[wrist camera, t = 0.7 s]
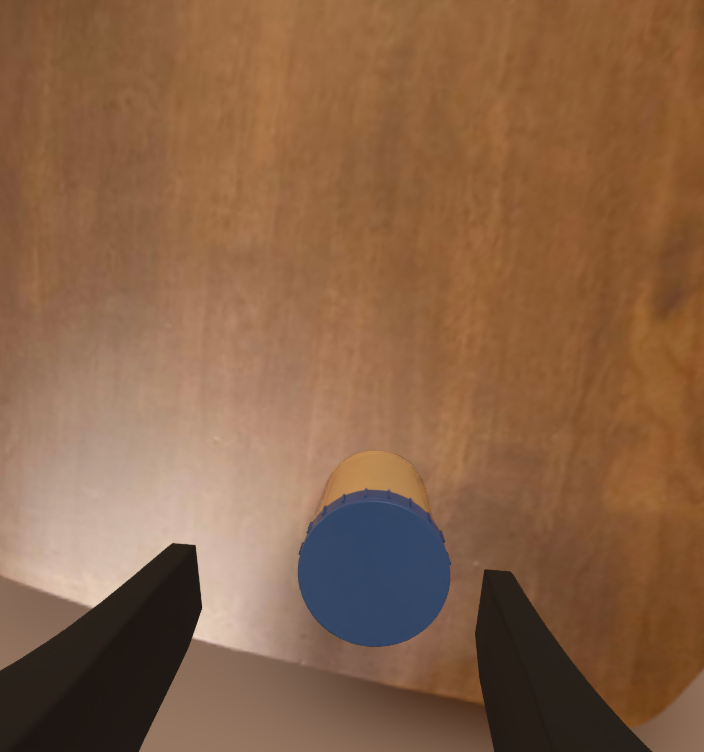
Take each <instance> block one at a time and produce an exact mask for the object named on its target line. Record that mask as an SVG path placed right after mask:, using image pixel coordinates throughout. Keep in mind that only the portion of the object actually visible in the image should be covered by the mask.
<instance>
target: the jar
mask: <svg viewBox="0 0 704 752" xmlns="http://www.w3.org/2000/svg"><path fill="white" fill-rule="evenodd" d="M365 488H367V490H384V491H388V489H389V490H391V492H393V493H397V494H399V495H402V496H404V497H406V498H408V499H409V498H412V500H413V502H415V503H416V504H418V505H419V506H420V507H421V508H423V509H424V510H425V511H426V512H429V513H430V515H431V518H432V519H433V515H432V511H431V508H430V504H429V501H428V497H427V493H426V490H425V486H424V483H423V481H422V479H421V477H420V475H419V474H418V472H417V471H416V470H415V468H414V467H413V466H412V465H411V464H410V463H408V462H407V461H406V460H404V459H403V458H401V457H399V456H397V455H395V454H392V453H389V452H385V451H365V452H361V453H358V454H355V455H353V456H351V457H349V458H347V459H346V460H344V461H343V462H342V463H341V464H340V465H339V466H338V467H337V468H336V469H335V470H334V472H333V473H332V475H331V476H330V478H329V480H328V483H327V486H326V489H325V492H324V495H323V498H322V501H321V504H320V507H319V510H318V513H317V516H318V514H319V513H320V512H321V511H322V510H323V507H324V506H325V505H326V506H328V505H329V504H330V503H332V502H333V501H335V500H336V499H338V498H340V497H342V494H344V493H345V495H347V494H349V493H353V492H357V491H362V490H365ZM317 516H316V517H317ZM433 521H434V519H433Z"/></svg>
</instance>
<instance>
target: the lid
mask: <svg viewBox="0 0 704 752" xmlns="http://www.w3.org/2000/svg"><path fill="white" fill-rule="evenodd" d="M444 542H445V540H444V536H443V533H442V531H439V529H438V527H437V526H436V524H435V522H434V521H433V519H432V518H431V515H430V513H429V512H426V511H425V510H424V509H423V508H421V507H420V506H419V505H418V504H416V503H415V502H413V500H412V498H409V499H408V498H406V497H404V496H402V495H399V494H397V493H393V492H391V490H389V489H388V491H384V490H367V488H365V490H362V491H357V492H353V493H349V494H347V495H345V493H344V494H342V497H340V498H338V499H336V500H335V501H333V502H332V503H330V504H329V505H328V506H326V505H325V506H324V507H323V510H322V511H321V512H320V513H319V514H318V516H317V517H316V518H315V520H314V521H313V523H312V522H310V524H309V527H308V530H307V536H306V538H305V541H304V542H302V545H301V548H300V551H299V555H300V557H299V564H298V581H299V587H300V591H301V594H302V597H303V599H304V602H305V604H306V606H307V608H308V609H309V611H310V612H311V614H312V615H313V616H314V618H315V619H316V620H317V621H318V622H319V623H320V624H321V625H322V626H323V627H324V628H325V629H326V630H328V631H329V632H330V633H332V634H333V635H335V636H337V637H339V638H340V639H343V640H345V641H348V642H350V643H354V644H357V645H362V646H369V647H381V646H390V645H394V644H398V643H401V642H404V641H406V640H409V639H411V638H412V637H414V636H416V635H418V634H419V633H420V632H422V631H423V630H425V629H426V628H427V627H428V626H429V625H430V624H431V623H432V622H433V620H434V619H435V618H436V617H437V616H438V614H439V612H440V611H441V609H442V607H443V605H444V603H445V600H446V598H447V594H448V591H449V585H450V565H451V562H450V559H449V555H448V552H446V549H445V545H444Z"/></svg>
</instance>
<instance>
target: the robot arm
mask: <svg viewBox="0 0 704 752" xmlns="http://www.w3.org/2000/svg"><path fill="white" fill-rule="evenodd" d="M201 610H202V601H201V592H200V582H199V573H198V563H197V554H196V545H188V544H176V543H172V544H171V545H170V546H168V547H167V548H166V549H165V550H163V551H162V552H161V553H160V554H159V555H157V556H156V557H155V558H154V559H153V560H152V561H150V562H149V563H148V564H147V565H146V566H144V567H143V568H142V569H141V570H140V571H139V572H137V573H136V574H135V575H134V576H133V577H131V578H130V579H129V580H128V581H127V582H125V583H124V584H123V585H122V586H121V587H119V588H118V589H117V590H116V591H114V592H113V593H112V594H111V595H109V596H108V597H107V598H106V599H105V600H103V601H102V602H101V603H99V604H98V605H97V606H95V607H94V608H93V609H91V610H90V611H89V612H88V613H86V614H85V615H84V616H82V617H81V618H80V619H78V620H77V621H76V622H74V623H73V624H72V625H70V626H69V627H68V628H66V629H65V630H63V631H62V632H60V633H59V634H58V635H56V636H55V637H53V638H52V639H50V640H49V641H47V642H46V643H44V644H43V645H41V646H40V647H38V648H37V649H35V650H34V651H32V652H30V653H29V654H27V655H26V656H24V657H23V658H21V659H19V660H18V661H16V662H15V663H13V664H11V665H9V666H7V667H6V668H4V669H2V670H1V671H0V752H139V750H140V748H141V745H142V743H143V741H144V739H145V737H146V735H147V733H148V731H149V728H150V726H151V724H152V722H153V720H154V718H155V716H156V714H157V712H158V710H159V708H160V706H161V704H162V702H163V700H164V698H165V696H166V694H167V691H168V689H169V687H170V685H171V683H172V681H173V679H174V677H175V675H176V673H177V671H178V669H179V666H180V664H181V662H182V660H183V658H184V656H185V653H186V652H187V650H188V647H189V645H190V642H191V639H192V636H193V633H194V631H195V628H196V625H197V622H198V619H199V616H200V613H201ZM475 636H476V648H477V659H478V669H479V678H480V683H481V688H482V693H483V698H484V703H485V708H486V713H487V718H488V723H489V728H490V733H491V738H492V742H493V747H494V752H652V751H651V750H650V749H649V748H648V747H647V746H646V745H644V743H643V742H642V741H641V740H640V739H639V738H638V737H637V736H636V735H635V734H634V733H633V732H632V731H631V730H630V729H629V728H628V727H627V726H626V725H625V724H624V722H623V721H622V720H621V719H620V718H619V717H618V716H617V715H616V714H615V713H614V711H613V710H612V709H611V708H610V707H609V706H608V705H607V704H606V702H605V701H604V700H603V699H602V698H601V697H600V695H599V694H598V693H597V692H596V691H595V690H594V688H593V687H592V686H591V685H590V684H589V682H588V681H587V680H586V679H585V677H584V676H583V675H582V674H581V672H580V671H579V670H578V668H577V667H576V666H575V665H574V663H573V662H572V661H571V659H570V658H569V657H568V655H567V654H566V653H565V652H564V650H563V649H562V647H561V646H560V645H559V643H558V642H557V640H556V639H555V638H554V636H553V635H552V633H551V632H550V631H549V629H548V628H547V626H546V625H545V623H544V622H543V621H542V619H541V618H540V616H539V615H538V613H537V612H536V610H535V609H534V607H533V606H532V604H531V602H530V601H529V599H528V598H527V596H526V595H525V593H524V591H523V590H522V588H521V586H520V585H519V583H518V582H517V580H516V578H515V576H514V575H513V574H512V573H511V572H510V571H498V570H486V569H485V570H484V576H483V583H482V590H481V597H480V604H479V611H478V618H477V624H476V631H475Z"/></svg>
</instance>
